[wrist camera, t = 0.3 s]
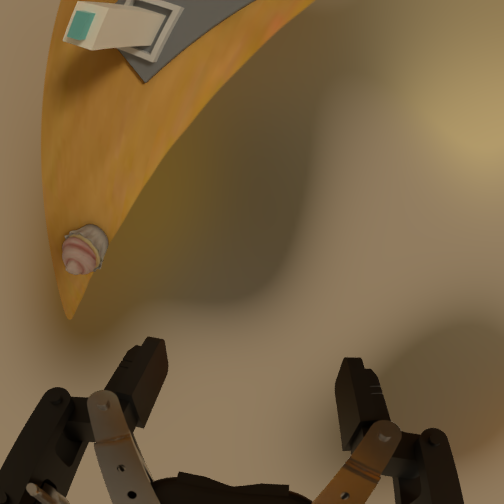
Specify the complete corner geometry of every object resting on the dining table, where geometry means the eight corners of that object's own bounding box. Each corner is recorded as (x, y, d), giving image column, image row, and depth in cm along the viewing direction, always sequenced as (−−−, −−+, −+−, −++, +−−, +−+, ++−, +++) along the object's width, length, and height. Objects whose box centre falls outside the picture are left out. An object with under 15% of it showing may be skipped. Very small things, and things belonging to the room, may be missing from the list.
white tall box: (124, 36, 27) (55, 41, 17) (138, 6, 24) (71, 0, 14) (150, 45, 28) (85, 51, 18) (166, 15, 25) (102, 7, 15)
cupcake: (86, 207, 47) (53, 239, 39) (122, 240, 50) (94, 276, 42) (72, 234, 52) (44, 265, 44) (104, 263, 55) (80, 297, 47)
